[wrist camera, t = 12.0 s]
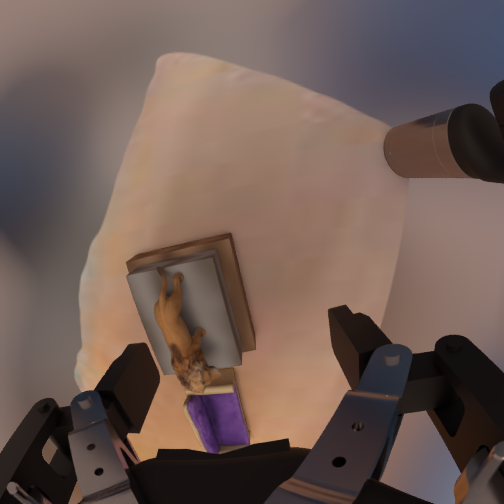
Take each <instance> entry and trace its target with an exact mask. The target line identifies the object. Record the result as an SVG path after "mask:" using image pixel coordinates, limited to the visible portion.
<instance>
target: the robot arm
mask: <svg viewBox="0 0 504 504" xmlns="http://www.w3.org/2000/svg"><path fill="white" fill-rule="evenodd" d="M490 102H491V105H492V109H493V112H494V115H495V117H496V118H495V117H494V116H493V115H492V114H491V113H490V112H489V111H488V110H487V109H485V108H484V107H482V106H481V105H478V104H466V105H462V106H459V107H455V108H452V109H449V110H446V111H443V112H439V113H437V114H433V115H430V116H427V117H424V118H421V119H418V120H415V121H412V122H409V123H406V124H403V125H400V126H397V127H395V128H393V129H392V130H390V132H389V133H388V134H387V136H386V138H385V142H384V152H385V156H386V160H387V162H388V164H389V165H390V167H391V168H392V170H393V171H395V172H396V173H397V174H398V175H400V176H402V177H406V178H475V179H481V180H483V181H487V182H494V183H503V184H504V80H502V81H500V82H499V83H497V84H496V85H495V86H494V87H493V88H492V89H491V91H490ZM328 317H329V325H330V335H331V343H332V348H333V351H334V354H335V356H336V358H337V360H338V362H339V364H340V366H341V368H342V370H343V372H344V374H345V376H346V379H347V381H348V383H349V385H350V387H351V389H352V390H348V391H347V392H346V394H345V395H344V397H343V399H342V401H341V402H340V404H339V406H338V408H337V409H336V411H335V413H334V415H333V416H332V418H331V420H330V421H329V423H328V425H327V426H326V428H325V429H324V431H323V433H322V434H321V436H320V437H319V439H318V440H317V442H316V443H315V445H314V446H313V448H312V449H307V448H299V447H290V443H289V439H282V440H276V441H270V442H264V443H257V444H252V445H249V446H246V447H243V448H239V449H236V450H232V451H229V452H225V453H221V454H215V453H208V452H202V451H196V450H190V449H158V453H157V456H156V458H152V459H148V460H145V461H142V462H141V461H140V459H139V457H138V455H137V454H136V452H135V450H134V448H133V446H132V444H131V442H130V440H129V439H128V437H127V434H128V433H140V431H141V428H142V426H143V423H144V421H145V418H146V415H147V413H148V410H149V408H150V405H151V403H152V400H153V398H154V395H155V393H156V390H157V388H158V386H159V383H160V375H159V371H158V369H157V366H156V364H155V362H154V360H153V357H152V355H151V353H150V350H149V348H148V346H147V344H146V343H135V344H129V345H128V346H127V347H126V349H125V350H124V352H123V353H122V355H121V356H119V357H118V358H117V359H116V360H115V361H113V363H112V364H111V366H110V367H109V369H108V370H107V371H106V373H105V375H104V376H103V377H102V379H101V380H100V382H99V383H98V385H97V386H96V388H95V389H94V391H93V390H89V391H84V392H82V393H80V394H78V395H77V396H75V397H74V398H73V400H72V401H71V404H70V406H66V407H59V406H58V404H57V403H56V401H55V400H54V399H52V398H46V399H42V400H40V401H38V402H37V403H36V404H35V405H34V406H33V407H32V409H31V410H30V411H29V412H28V414H27V415H26V417H25V418H24V419H23V421H22V422H21V424H20V425H19V426H18V428H17V429H16V431H15V432H14V434H13V435H12V436H11V438H10V439H9V441H8V442H7V444H6V446H5V447H4V448H3V450H2V452H1V453H0V504H68V502H69V500H70V497H71V495H72V492H73V490H74V487H75V485H76V482H77V480H78V483H79V486H80V490H81V493H82V497H83V499H82V500H81V502H80V503H78V504H433V503H431V502H428V501H425V500H422V499H420V498H417V497H415V496H412V495H409V494H407V493H405V492H402V491H400V490H398V489H395V488H393V487H391V486H388V485H386V484H384V483H382V482H380V480H381V477H382V475H383V473H384V470H385V468H386V465H387V462H388V459H389V456H390V453H391V450H392V448H393V445H394V442H395V439H396V437H397V434H398V431H399V428H400V425H401V422H402V419H403V416H404V414H405V413H412V412H418V411H425V410H426V411H427V413H428V415H429V416H430V418H431V420H432V421H433V423H434V425H435V426H436V428H437V430H438V432H439V434H440V435H441V437H442V439H443V440H444V442H445V444H446V446H447V448H448V450H449V451H450V453H451V455H452V457H453V459H454V460H455V462H456V464H457V466H458V468H459V470H460V472H461V475H460V476H459V478H458V479H457V481H456V483H455V485H454V496H455V504H504V373H503V372H502V371H501V370H500V369H499V368H498V367H497V366H496V365H495V364H494V363H493V362H492V361H491V360H490V359H489V358H488V357H487V356H486V355H485V354H484V353H483V352H482V351H481V350H480V349H478V348H477V347H476V346H475V345H474V344H473V343H472V342H471V341H470V340H469V339H467V338H466V337H464V336H460V335H448V336H444V337H442V338H440V339H439V340H438V341H437V342H436V344H435V349H434V351H430V352H424V353H417V354H412V351H411V350H410V349H409V348H408V347H406V346H404V345H401V344H393V343H392V342H391V341H390V340H389V339H388V338H387V336H386V335H385V334H384V333H383V332H382V331H381V329H379V327H378V326H377V325H376V324H375V323H374V322H373V320H372V319H371V318H370V317H369V316H367V315H365V314H362V313H356V314H353V313H352V312H351V310H350V309H349V308H348V307H347V305H342V306H338V307H334V308H330V309H328ZM48 438H50V439H51V441H52V442H53V443H54V444H55V445H56V447H57V448H58V449H57V450H56V453H55V455H54V456H53V458H52V460H51V462H50V464H48V463H47V462H46V461H45V460H44V458H43V456H42V449H43V447H44V445H45V443H46V441H47V440H48Z"/></svg>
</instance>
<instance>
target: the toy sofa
mask: <svg viewBox="0 0 504 504" xmlns="http://www.w3.org/2000/svg"><path fill="white" fill-rule="evenodd" d="M218 370H219V372H220V373H221V376H220V377H219V378H216V379H214V380H212V381H211V383H210V384H209V385H207V386H206V389H205V390H204V394H202V393H194V392H192V391H189V390H187V389H186V395H187V399H186V400H185V402H184V405H183V410H184V413H185V415H186V416H187V418H188V419H189V421H190V424H191V426H192V428H193V430H194V432H195V435H196V437H197V439H198V441H199V443H200V445H201V447H202V449H203V452H208V453H215V454H221V453H225V452H229V451H232V450H236V449H239V448H243V447H246V446H249V445H250V431H248V429H247V425H246V421H245V417H244V414H243V410H242V406H241V402H240V398H239V394H238V390H237V385H236V381H235V371H234V368H227V369H218Z"/></svg>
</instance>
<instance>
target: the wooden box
mask: <svg viewBox="0 0 504 504" xmlns="http://www.w3.org/2000/svg"><path fill="white" fill-rule="evenodd" d="M126 265H127V268H128V271H129V274H128V275H127V276H126V277H127V281H128V284H129V287H130V290H131V293H132V296H133V299H134V301H135V304H136V307H137V310H138V313H139V315H140V318H141V321H142V323H143V326H144V329H145V331H146V334H147V336H148V339H149V341H150V344H151V346H152V349H153V351H154V353H155V356H156V358H157V360H158V363H159V365H160V367H161V369H162V372H163V374H164V375H170V374H175V372H174V370H173V367H172V366H171V359H172V358H171V353H170V350H169V348H168V346H167V343H166V341H165V339H164V336H163V334H162V331H161V329H160V327H159V325H158V324H157V322H156V319H155V315H154V305H155V303H156V302H157V301H158V300H159V296H160V292H161V288H162V284H163V278H162V277H161V276H160V275H159V273H158V271H157V270H156V267H157V266H159V267H161V268H162V269H163V271H164V274H165V275H166V277H167V288H166V294H165V295H166V296H167V297H169V296H170V295H171V294H172V293H173V290H174V285H173V276H174V274H176V273H181V274H182V275H183V276H184V279H183V281H182V282H181V283H180V287H181V291H182V308H181V311H180V313H179V316H180V317H181V318H182V319H183V321H184V322H185V324H186V326H187V328H188V331H189V333H190V336H191V337H192V336H194V332H195V329H198V328H202V329H204V330H205V331H206V334H205V335H204V337H201V346H200V348H201V350H202V352H203V354H204V359H205V360H206V361H207V362H208V366H215V367H216V368H218V369H220V368H227V367H233V366H239V365H242V352H247V351H252V350H256V341H255V332H254V328H253V324H252V320H251V316H250V311H249V307H248V303H247V299H246V295H245V291H244V286H243V282H242V278H241V274H240V270H239V265H238V261H237V257H236V252H235V248H234V244H233V239H232V235H231V233H228V234H224V235H219V236H215V237H210V238H206V239H201V240H197V241H193V242H188V243H184V244H180V245H175V246H171V247H167V248H162V249H158V250H154V251H150V252H145V253H141V254H137V255H136V256H134V257H133V258H131V259H130V260H128V261H127V262H126Z"/></svg>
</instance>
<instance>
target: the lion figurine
mask: <svg viewBox="0 0 504 504" xmlns="http://www.w3.org/2000/svg"><path fill="white" fill-rule="evenodd" d="M156 270H157V271H158V273H159V275H160V276H161V277H162V278H163V284H162V288H161V292H160V296H159V300H158V301H157V302H156V303H155V305H154V315H155V319H156V322H157V324H158V325H159V327H160V329H161V331H162V334H163V336H164V339H165V341H166V343H167V346H168V348H169V350H170V353H171V358H172V359H171V366H172V367H173V370H174V372H175V374H176V375H177V378H178V379H179V381H181V384H182V385H183V386H185V388H186V389H187V390H189V391H192V392H194V393H202V394H204V390H205V389H206V386H207V385H209V384H210V383H211V381H212V380H214V379H216V378H219V377H220V376H221V373H220V372H219V370H218V368H216V367H215V366H208V362H207V361H206V360H205V359H204V354H203V352H202V350H201V348H200V346H201V337H204V335H205V334H206V331H205V330H204V329H202V328H198V329H195V332H194V336H192V337H191V336H190V333H189V331H188V328H187V326H186V324H185V322H184V321H183V319H182V318H181V317H180V316H179V313H180V311H181V308H182V291H181V287H180V283H181V282H182V281H183V279H184V276H183V275H182V274H181V273H176V274H174V276H173V285H174V290H173V293H172V294H171V295H170V296H169V297H167V296H166V295H165V294H166V288H167V277H166V275H165V274H164V271H163V269H162V268H161V267H159V266H157V267H156Z"/></svg>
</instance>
